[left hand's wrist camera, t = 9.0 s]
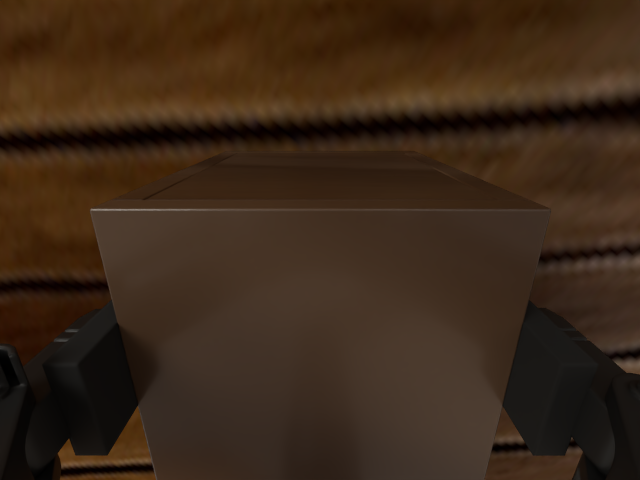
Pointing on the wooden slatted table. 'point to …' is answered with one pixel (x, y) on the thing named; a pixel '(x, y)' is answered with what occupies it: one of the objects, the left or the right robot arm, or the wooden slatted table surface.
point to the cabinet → (320, 314)
